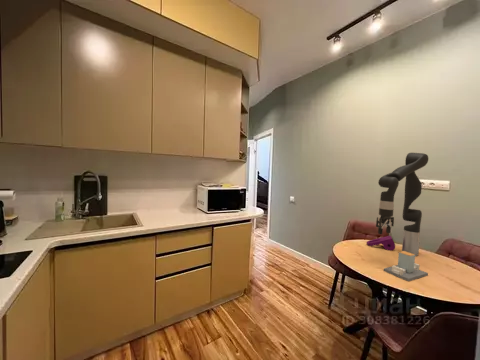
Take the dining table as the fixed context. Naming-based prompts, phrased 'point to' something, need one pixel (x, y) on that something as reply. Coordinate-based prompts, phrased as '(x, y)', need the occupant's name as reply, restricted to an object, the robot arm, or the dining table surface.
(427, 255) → the dining table surface
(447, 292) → the dining table surface
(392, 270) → the mounting board
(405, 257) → the plate
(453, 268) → the dining table surface
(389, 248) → the mounting bracket
